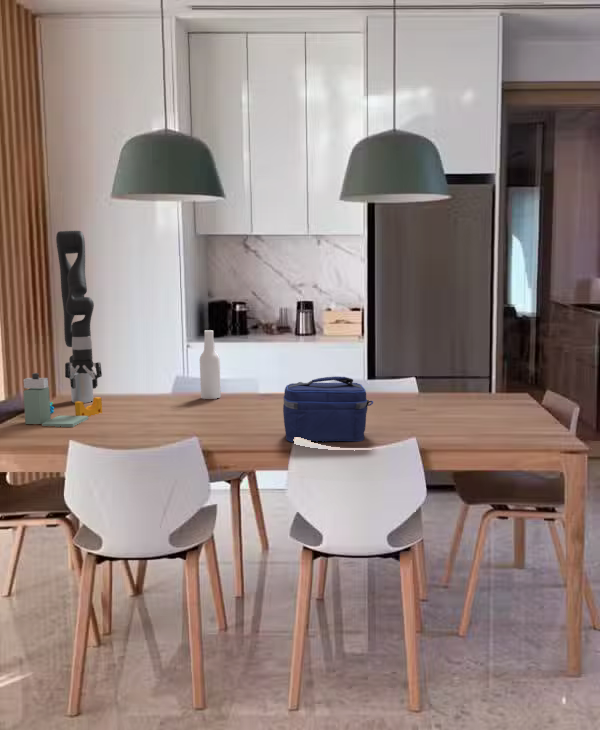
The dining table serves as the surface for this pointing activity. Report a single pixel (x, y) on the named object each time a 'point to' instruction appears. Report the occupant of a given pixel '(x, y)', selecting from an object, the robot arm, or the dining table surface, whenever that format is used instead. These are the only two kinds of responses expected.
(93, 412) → the yellow notched block
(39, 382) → the grey block
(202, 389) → the alcohol
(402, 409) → the dining table surface
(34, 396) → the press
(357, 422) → the lunch bag
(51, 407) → the gear
